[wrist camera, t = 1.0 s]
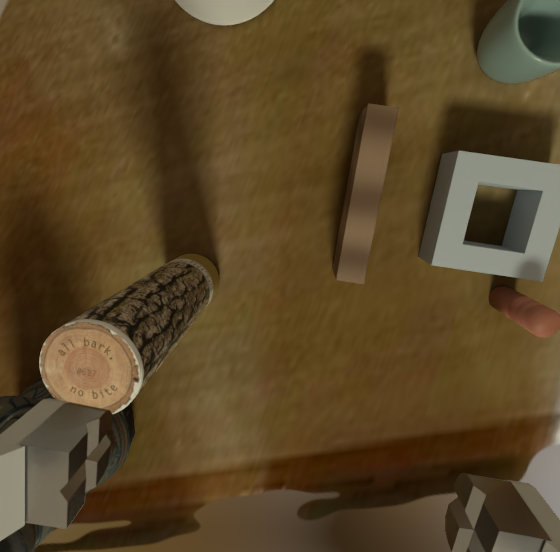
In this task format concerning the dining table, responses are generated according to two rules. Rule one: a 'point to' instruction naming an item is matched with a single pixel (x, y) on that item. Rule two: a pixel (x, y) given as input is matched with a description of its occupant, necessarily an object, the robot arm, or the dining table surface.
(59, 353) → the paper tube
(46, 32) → the dining table surface
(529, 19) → the cup
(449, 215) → the holed block
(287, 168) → the dining table surface
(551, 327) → the sausage
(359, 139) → the walnut wall
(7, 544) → the beer stein
